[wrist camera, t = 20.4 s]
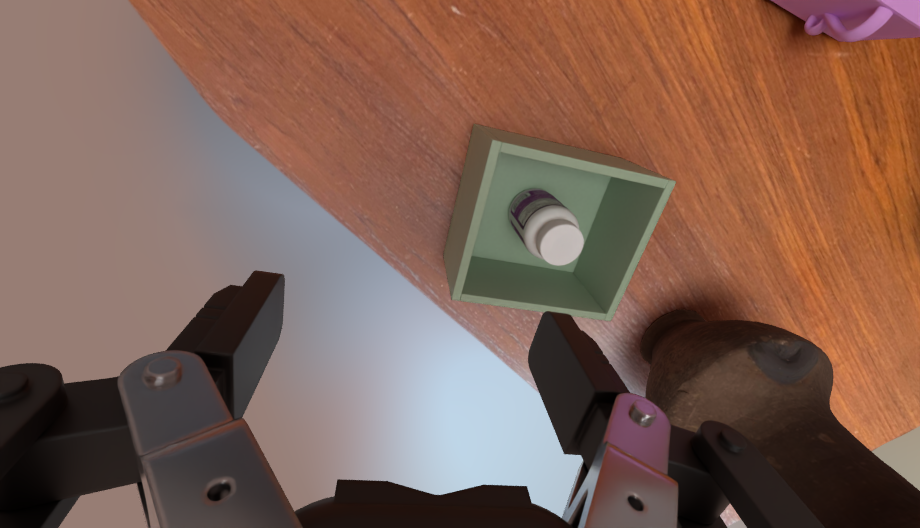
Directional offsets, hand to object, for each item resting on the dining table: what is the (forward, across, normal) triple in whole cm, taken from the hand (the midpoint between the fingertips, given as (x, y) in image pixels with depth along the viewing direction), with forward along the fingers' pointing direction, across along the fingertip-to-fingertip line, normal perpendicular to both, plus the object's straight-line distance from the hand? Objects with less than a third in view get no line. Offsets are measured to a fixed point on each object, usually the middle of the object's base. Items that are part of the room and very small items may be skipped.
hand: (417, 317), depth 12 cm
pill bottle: (+30, -14, +4) cm, 33 cm away
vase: (+30, -40, +18) cm, 53 cm away
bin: (+30, -14, +4) cm, 33 cm away
